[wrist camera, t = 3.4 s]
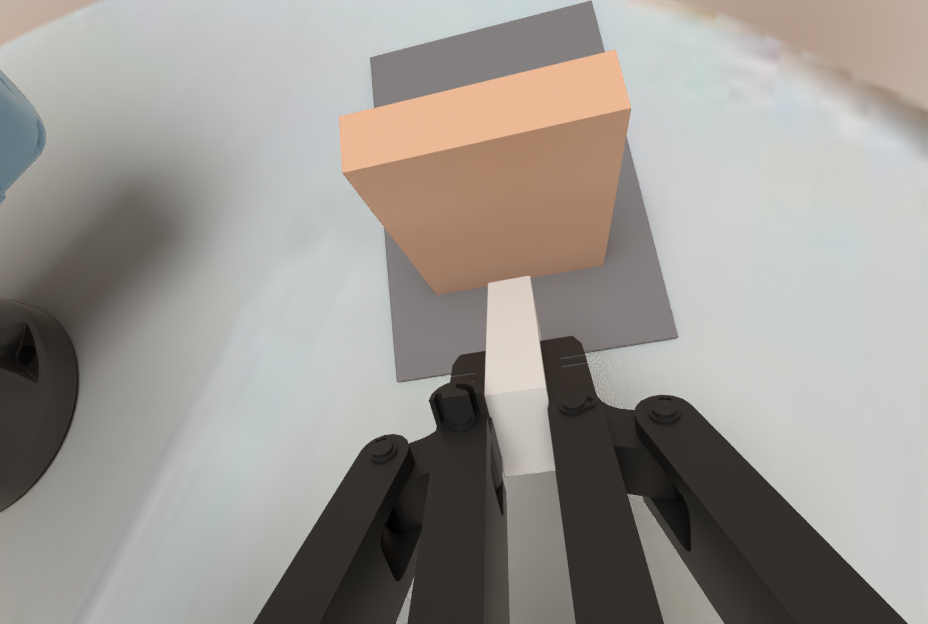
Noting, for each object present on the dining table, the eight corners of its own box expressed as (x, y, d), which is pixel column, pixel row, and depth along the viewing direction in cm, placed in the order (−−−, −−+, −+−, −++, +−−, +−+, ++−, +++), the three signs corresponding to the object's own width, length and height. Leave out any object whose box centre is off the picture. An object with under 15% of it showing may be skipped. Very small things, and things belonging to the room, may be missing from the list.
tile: (603, 265, 30) (631, 107, 17) (437, 295, 31) (342, 172, 18) (594, 223, 31) (613, 42, 18) (432, 255, 32) (338, 110, 19)
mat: (676, 338, 28) (677, 336, 28) (398, 382, 31) (396, 381, 30) (591, 5, 36) (591, 0, 35) (372, 61, 38) (370, 57, 38)
